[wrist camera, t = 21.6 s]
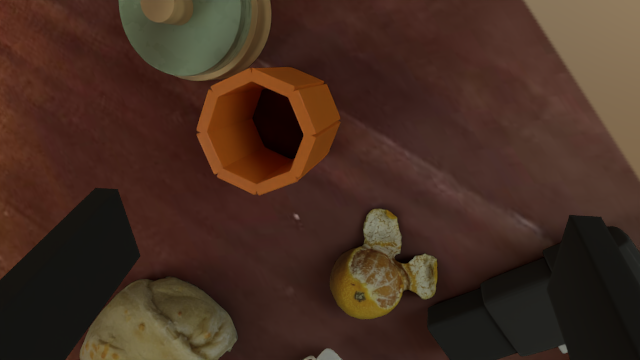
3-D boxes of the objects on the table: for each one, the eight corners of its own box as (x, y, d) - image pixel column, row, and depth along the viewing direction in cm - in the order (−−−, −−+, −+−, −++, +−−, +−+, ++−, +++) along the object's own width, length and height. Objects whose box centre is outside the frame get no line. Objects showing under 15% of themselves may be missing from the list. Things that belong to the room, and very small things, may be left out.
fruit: (451, 277, 36) (453, 299, 33) (373, 330, 39) (367, 356, 36) (382, 200, 36) (377, 214, 33) (309, 259, 39) (297, 278, 36)
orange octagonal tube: (352, 93, 35) (330, 101, 27) (316, 180, 37) (287, 210, 30) (264, 55, 36) (218, 52, 28) (234, 142, 38) (185, 162, 30)
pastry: (117, 375, 47) (57, 434, 40) (102, 264, 44) (35, 306, 37) (244, 397, 44) (205, 465, 37) (237, 279, 41) (194, 327, 34)
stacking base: (290, -28, 34) (252, -52, 27) (247, 99, 37) (203, 107, 30) (172, -76, 35) (106, -111, 28) (141, 51, 38) (74, 48, 31)
